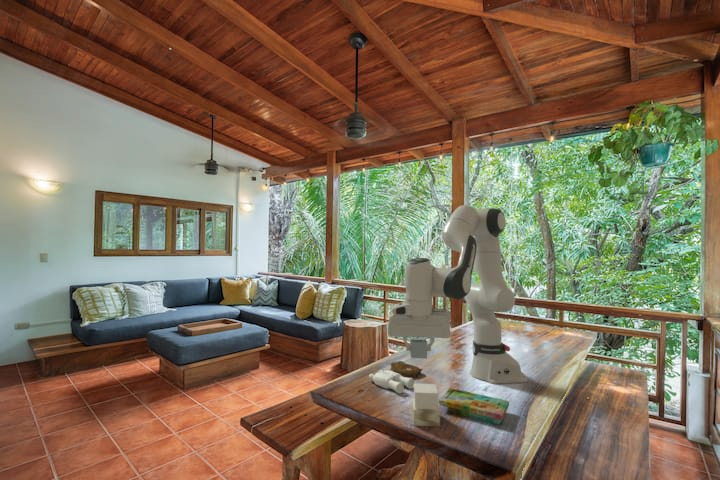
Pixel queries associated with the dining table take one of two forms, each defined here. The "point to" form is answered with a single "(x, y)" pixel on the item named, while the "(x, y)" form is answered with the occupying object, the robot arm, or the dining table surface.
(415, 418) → the birch slab
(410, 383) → the binoculars
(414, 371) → the decorative rock
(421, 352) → the grey cube
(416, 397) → the white block
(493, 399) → the puzzle game
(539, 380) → the dining table surface
